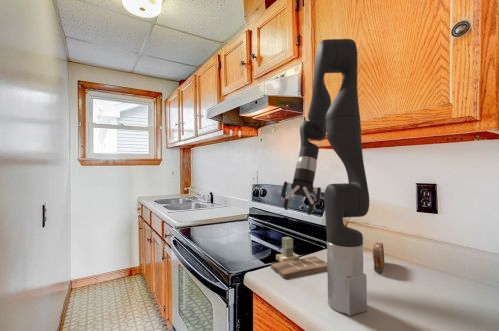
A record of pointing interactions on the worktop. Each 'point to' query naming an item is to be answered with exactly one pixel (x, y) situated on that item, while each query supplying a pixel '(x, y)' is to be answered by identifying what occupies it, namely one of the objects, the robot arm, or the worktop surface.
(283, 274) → the board
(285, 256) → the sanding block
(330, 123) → the robot arm
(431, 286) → the worktop surface
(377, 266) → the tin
